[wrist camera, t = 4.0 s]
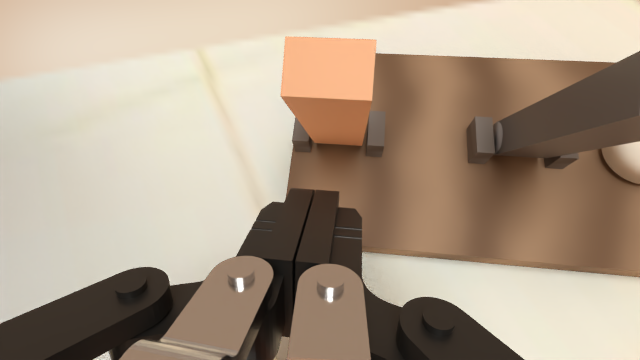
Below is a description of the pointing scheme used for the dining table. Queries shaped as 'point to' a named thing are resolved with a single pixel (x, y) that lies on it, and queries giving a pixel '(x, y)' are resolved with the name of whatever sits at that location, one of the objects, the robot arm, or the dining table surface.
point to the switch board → (474, 171)
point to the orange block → (329, 86)
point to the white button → (624, 160)
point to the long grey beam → (577, 116)
